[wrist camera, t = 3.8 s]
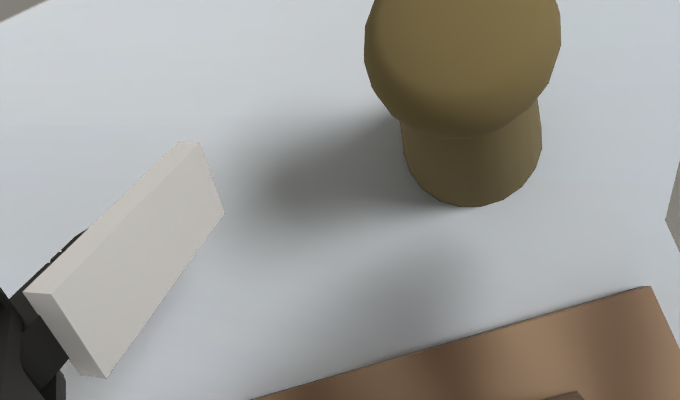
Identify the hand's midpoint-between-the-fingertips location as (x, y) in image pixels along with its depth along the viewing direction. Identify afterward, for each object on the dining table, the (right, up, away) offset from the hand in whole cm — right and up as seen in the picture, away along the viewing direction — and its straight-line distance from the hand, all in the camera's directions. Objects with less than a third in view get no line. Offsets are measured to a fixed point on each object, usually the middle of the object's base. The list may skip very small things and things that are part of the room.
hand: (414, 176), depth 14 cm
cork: (+4, +2, +8) cm, 9 cm away
